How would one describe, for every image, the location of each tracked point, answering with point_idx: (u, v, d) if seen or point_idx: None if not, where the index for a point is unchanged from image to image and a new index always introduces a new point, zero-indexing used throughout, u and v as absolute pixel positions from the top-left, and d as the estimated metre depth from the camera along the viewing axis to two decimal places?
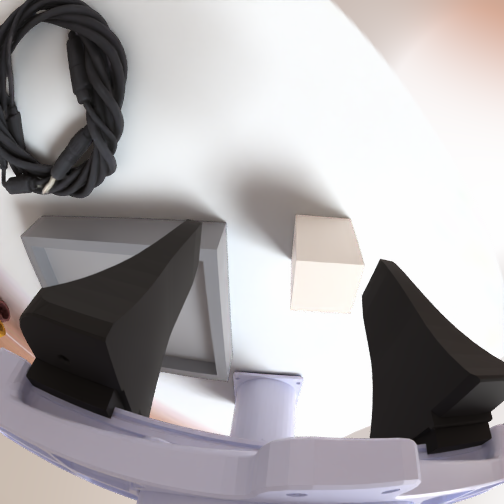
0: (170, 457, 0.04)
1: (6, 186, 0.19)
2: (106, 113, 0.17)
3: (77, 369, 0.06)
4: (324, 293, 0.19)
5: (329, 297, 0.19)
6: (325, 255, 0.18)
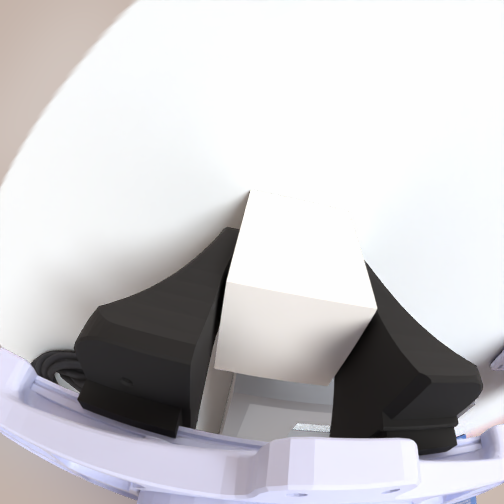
0: (170, 457, 0.04)
1: None
2: None
3: (140, 391, 0.06)
4: (296, 347, 0.09)
5: (312, 341, 0.09)
6: None
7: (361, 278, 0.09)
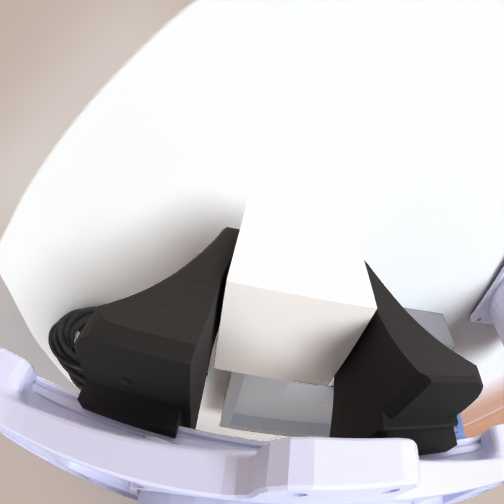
0: (170, 457, 0.04)
1: None
2: None
3: (140, 391, 0.06)
4: (297, 347, 0.09)
5: (312, 341, 0.09)
6: None
7: (361, 278, 0.09)
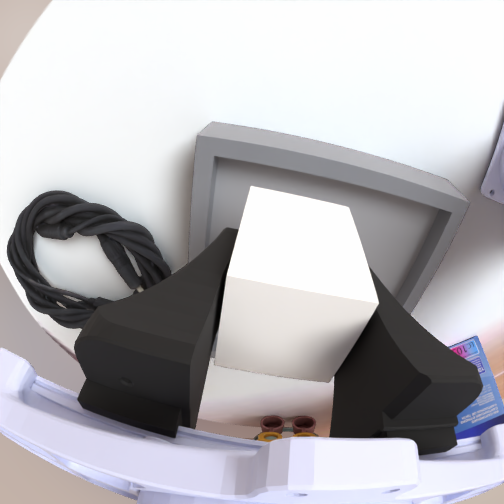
0: (170, 457, 0.04)
1: None
2: (83, 216, 0.21)
3: (140, 391, 0.06)
4: (297, 343, 0.09)
5: (313, 336, 0.09)
6: None
7: (362, 273, 0.09)
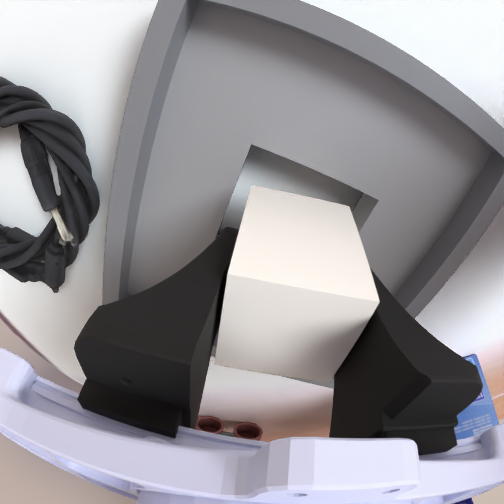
0: (170, 457, 0.04)
1: (48, 284, 0.17)
2: (8, 103, 0.12)
3: (140, 391, 0.06)
4: (298, 342, 0.09)
5: (314, 335, 0.09)
6: None
7: (363, 271, 0.09)
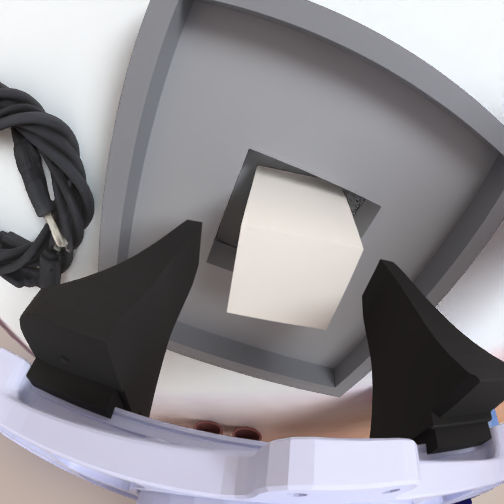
0: (170, 457, 0.04)
1: None
2: (1, 106, 0.11)
3: (77, 369, 0.06)
4: (298, 287, 0.11)
5: (311, 280, 0.11)
6: None
7: (350, 228, 0.11)
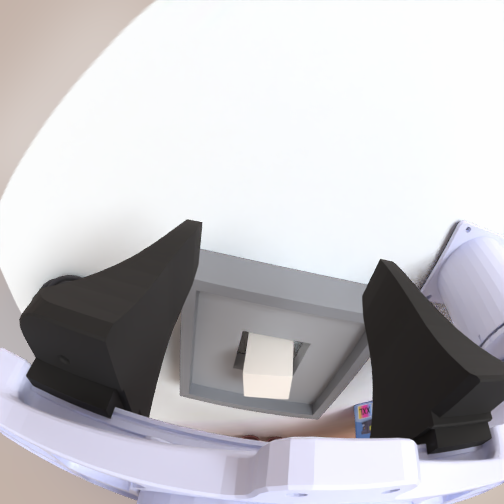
0: (170, 457, 0.04)
1: None
2: None
3: (77, 369, 0.06)
4: (270, 388, 0.25)
5: (275, 385, 0.25)
6: None
7: (289, 364, 0.25)
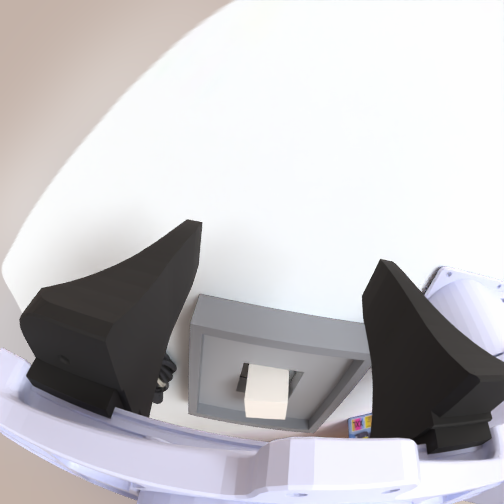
0: (170, 457, 0.04)
1: (154, 402, 0.35)
2: None
3: (77, 369, 0.06)
4: (269, 411, 0.28)
5: (273, 409, 0.27)
6: None
7: (285, 391, 0.27)
